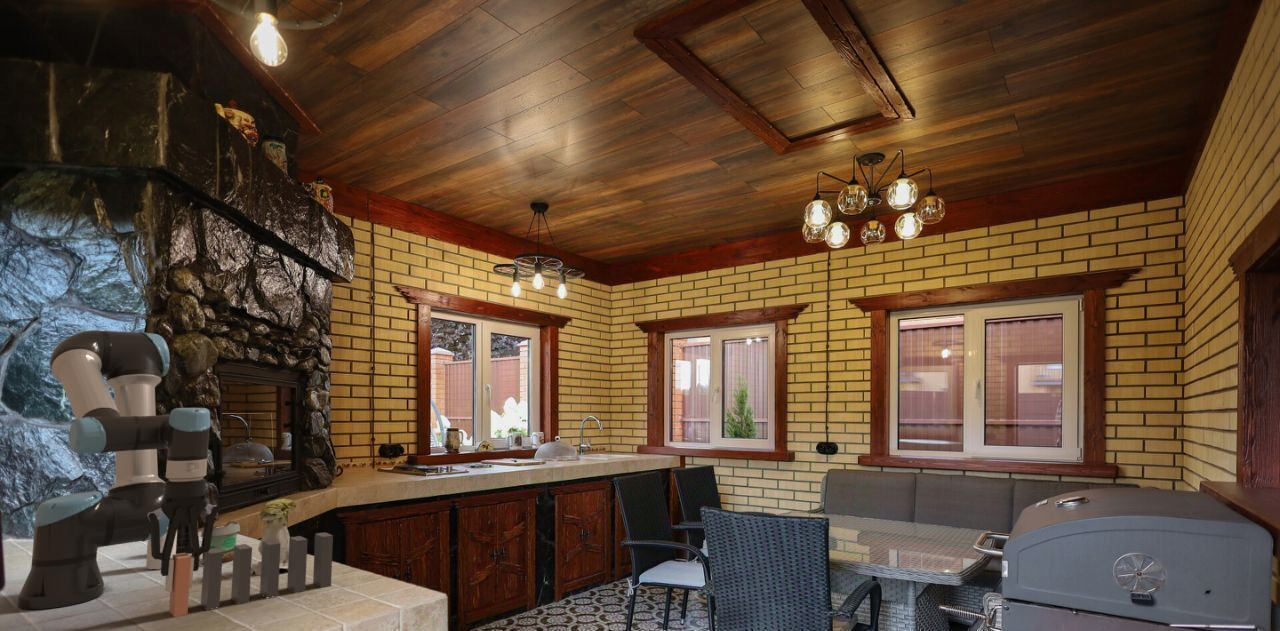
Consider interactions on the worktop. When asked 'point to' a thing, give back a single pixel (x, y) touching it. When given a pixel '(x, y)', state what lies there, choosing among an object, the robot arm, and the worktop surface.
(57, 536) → the robot arm
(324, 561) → the domino
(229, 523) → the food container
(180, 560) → the domino
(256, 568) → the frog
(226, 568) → the worktop surface
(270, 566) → the domino
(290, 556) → the domino
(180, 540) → the supplement bottle
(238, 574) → the domino
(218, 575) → the domino
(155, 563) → the can
